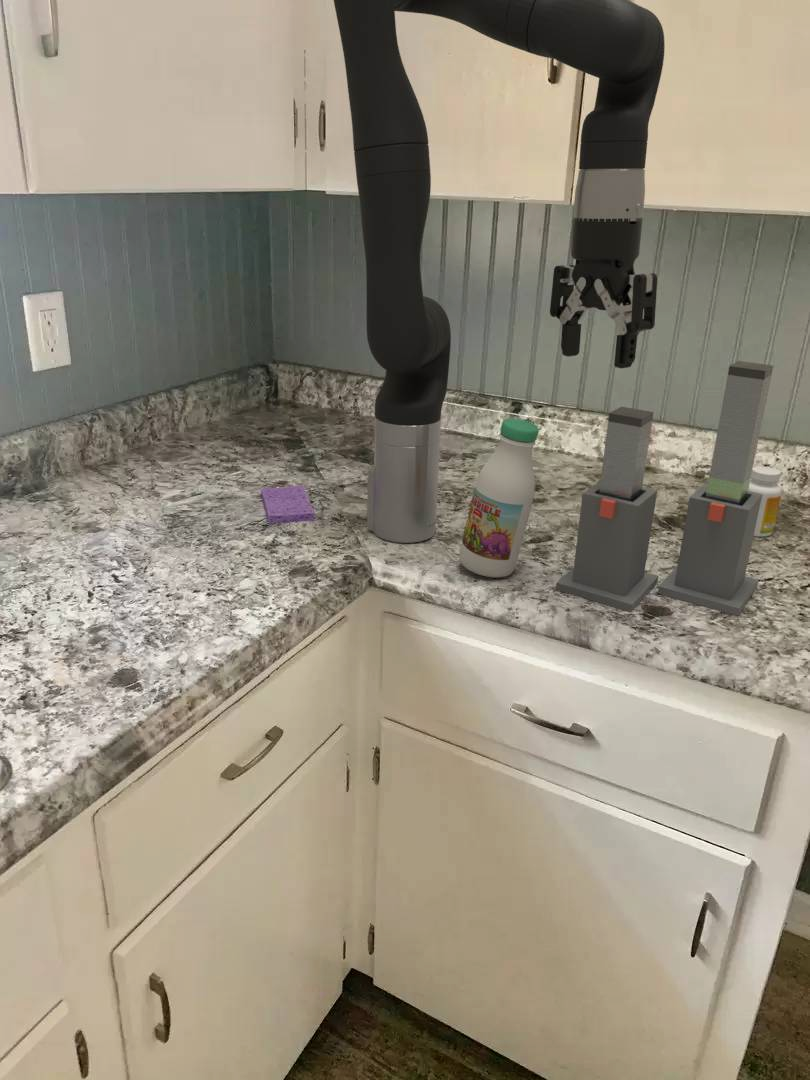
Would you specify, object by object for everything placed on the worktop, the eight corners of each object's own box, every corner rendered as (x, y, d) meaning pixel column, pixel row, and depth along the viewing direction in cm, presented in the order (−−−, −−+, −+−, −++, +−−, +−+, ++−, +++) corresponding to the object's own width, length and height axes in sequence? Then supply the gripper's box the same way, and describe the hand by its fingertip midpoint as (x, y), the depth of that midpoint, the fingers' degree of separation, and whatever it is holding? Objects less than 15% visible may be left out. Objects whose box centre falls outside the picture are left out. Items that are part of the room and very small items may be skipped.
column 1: (587, 579, 108) (609, 413, 99) (599, 568, 111) (621, 406, 102) (617, 587, 106) (642, 419, 97) (628, 576, 109) (653, 412, 100)
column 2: (697, 540, 105) (729, 366, 96) (706, 530, 108) (737, 360, 99) (730, 547, 103) (765, 371, 94) (738, 537, 106) (773, 365, 97)
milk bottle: (479, 546, 117) (512, 409, 108) (525, 569, 113) (563, 429, 104) (446, 560, 111) (478, 417, 103) (493, 585, 107) (530, 439, 99)
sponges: (268, 526, 125) (268, 515, 124) (260, 497, 136) (260, 486, 135) (315, 523, 126) (315, 512, 126) (304, 494, 138) (303, 484, 137)
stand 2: (657, 593, 107) (673, 497, 102) (681, 566, 115) (697, 476, 110) (738, 615, 102) (759, 516, 97) (757, 586, 110) (777, 493, 105)
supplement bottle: (770, 526, 129) (783, 466, 126) (774, 539, 125) (788, 477, 121) (733, 522, 131) (745, 462, 127) (736, 535, 126) (748, 473, 122)
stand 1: (555, 589, 107) (566, 494, 102) (586, 563, 115) (597, 473, 110) (631, 611, 102) (646, 512, 97) (657, 582, 110) (673, 489, 105)
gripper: (538, 213, 96) (531, 355, 103) (633, 217, 85) (618, 375, 92) (586, 212, 100) (576, 349, 106) (682, 215, 89) (665, 367, 96)
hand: (596, 361), depth 99 cm, fingers open, 8 cm apart
